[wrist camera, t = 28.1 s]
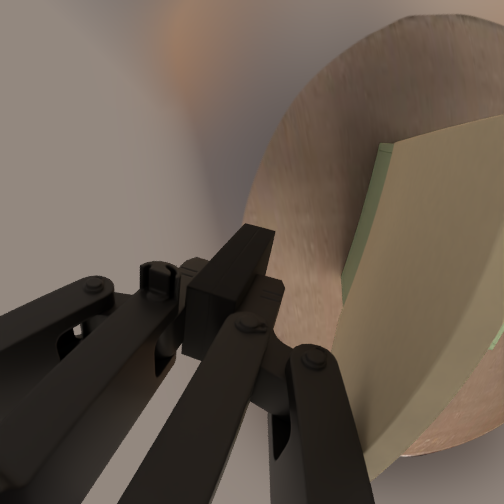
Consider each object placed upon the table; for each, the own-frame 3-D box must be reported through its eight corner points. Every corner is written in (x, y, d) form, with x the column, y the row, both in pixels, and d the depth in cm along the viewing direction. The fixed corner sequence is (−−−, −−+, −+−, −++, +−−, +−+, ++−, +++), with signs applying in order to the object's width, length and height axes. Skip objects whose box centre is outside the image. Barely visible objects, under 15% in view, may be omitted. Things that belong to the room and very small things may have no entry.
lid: (566, 134, 2) (526, 107, 2) (286, 539, 8) (267, 534, 8) (405, 145, 18) (394, 142, 18) (347, 321, 24) (338, 318, 24)
